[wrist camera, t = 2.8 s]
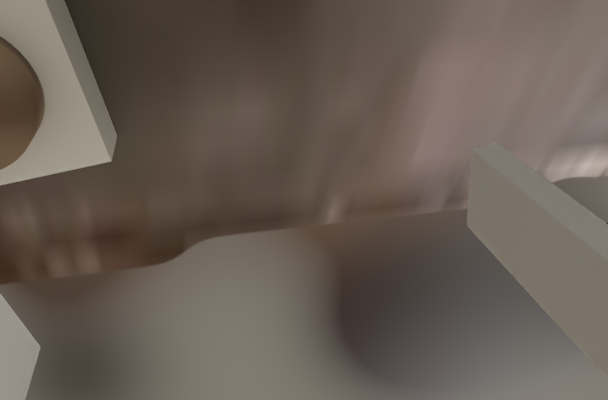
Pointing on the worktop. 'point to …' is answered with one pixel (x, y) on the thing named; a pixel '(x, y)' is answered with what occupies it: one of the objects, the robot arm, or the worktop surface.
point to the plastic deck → (57, 92)
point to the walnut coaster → (17, 103)
